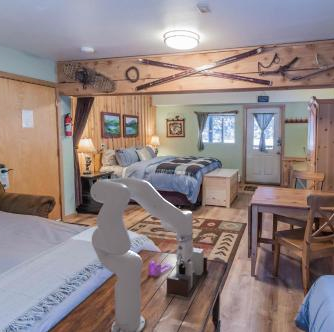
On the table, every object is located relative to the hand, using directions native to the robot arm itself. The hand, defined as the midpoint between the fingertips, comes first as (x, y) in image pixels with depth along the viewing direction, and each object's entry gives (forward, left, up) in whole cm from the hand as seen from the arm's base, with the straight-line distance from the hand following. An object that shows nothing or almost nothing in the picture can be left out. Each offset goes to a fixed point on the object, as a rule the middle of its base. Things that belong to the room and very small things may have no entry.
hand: (184, 270), depth 135 cm
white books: (+14, 0, -8) cm, 16 cm away
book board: (+5, 0, -9) cm, 11 cm away
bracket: (+11, +19, -10) cm, 24 cm away
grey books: (-2, 0, -8) cm, 8 cm away
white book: (0, 0, -8) cm, 8 cm away
